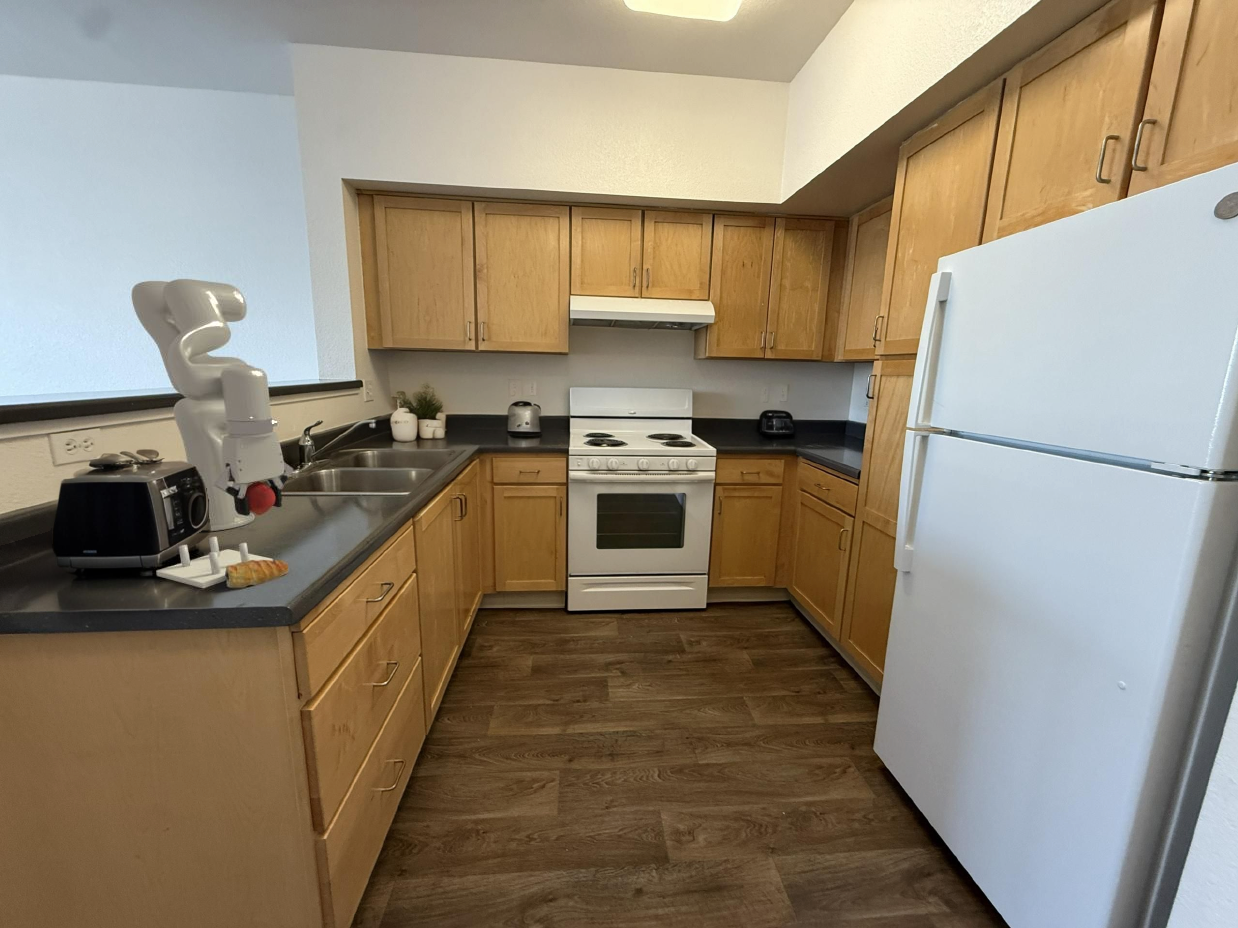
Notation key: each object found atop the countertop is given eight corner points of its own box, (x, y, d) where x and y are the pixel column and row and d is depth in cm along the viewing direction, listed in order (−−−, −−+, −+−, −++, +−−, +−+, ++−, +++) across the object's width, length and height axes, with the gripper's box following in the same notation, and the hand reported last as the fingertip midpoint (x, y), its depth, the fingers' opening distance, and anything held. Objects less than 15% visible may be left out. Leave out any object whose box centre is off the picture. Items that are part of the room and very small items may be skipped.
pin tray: (157, 575, 90) (152, 550, 89) (228, 553, 101) (224, 530, 100) (203, 588, 85) (198, 561, 84) (273, 563, 96) (269, 539, 95)
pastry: (284, 567, 95) (281, 548, 94) (293, 577, 90) (291, 558, 90) (223, 582, 88) (220, 562, 87) (230, 593, 84) (226, 573, 83)
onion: (272, 508, 109) (268, 474, 107) (280, 515, 105) (277, 479, 104) (240, 514, 105) (235, 478, 103) (248, 521, 101) (243, 484, 99)
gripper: (280, 421, 110) (287, 497, 114) (190, 431, 94) (203, 518, 98) (302, 425, 107) (310, 502, 111) (214, 435, 92) (227, 525, 96)
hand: (259, 509), depth 105 cm, fingers closed on onion, 5 cm apart
